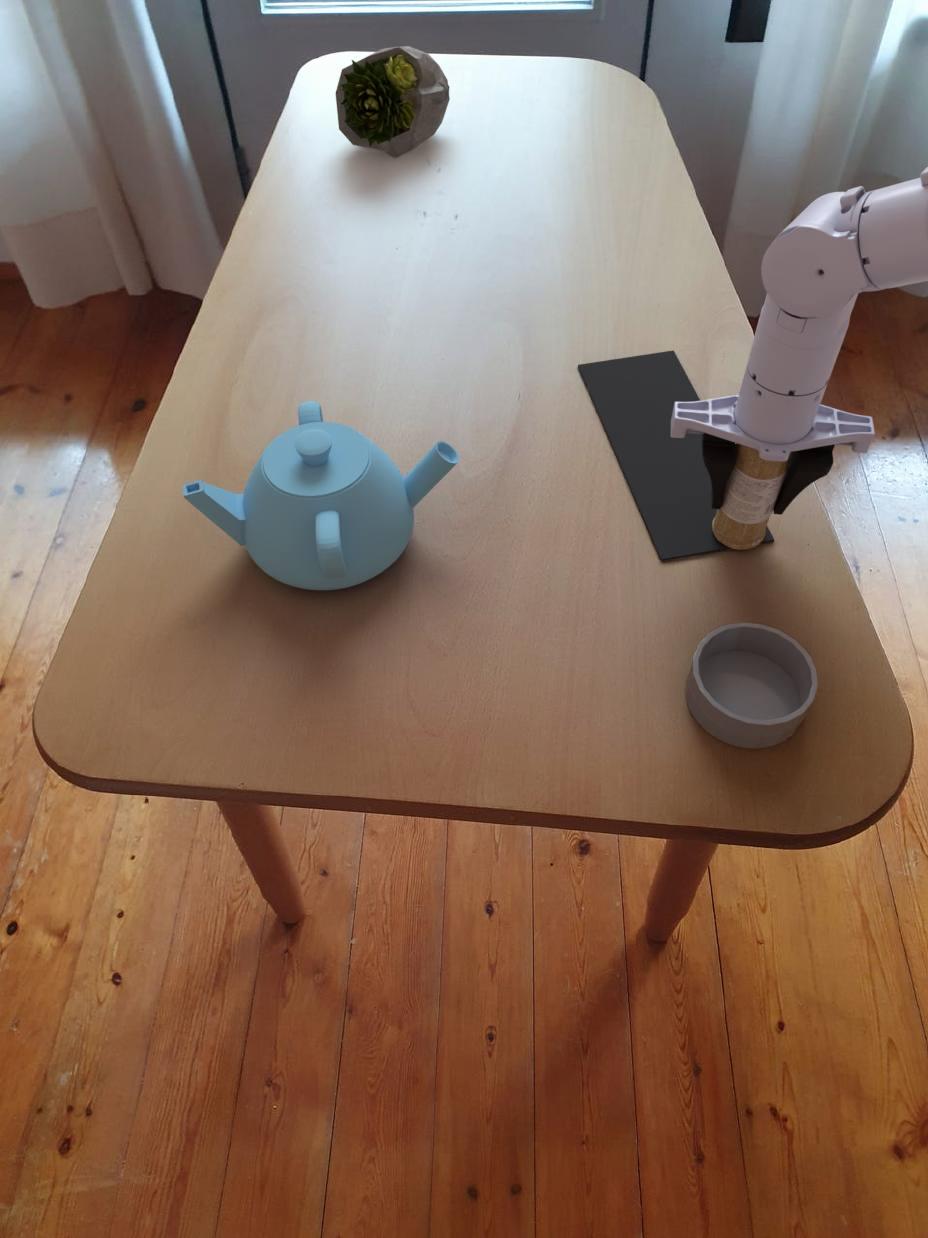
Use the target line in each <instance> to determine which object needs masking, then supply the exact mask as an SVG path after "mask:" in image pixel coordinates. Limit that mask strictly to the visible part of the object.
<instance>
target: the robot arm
mask: <svg viewBox="0 0 928 1238" xmlns="http://www.w3.org/2000/svg"><path fill="white" fill-rule="evenodd" d="M760 275H761V281H762V285H763V287H764V290H765V292H766V296H765V298H764V299H765V300H764V303H763V305H762V307H761V310H760V313H759V318H758V320H757V321H758V322H757V326H756V328H755V333H754V336H753V340H752V344H751V347H750V351H749V354H748V359H747V363H746V367H745V371H744V374H743V377H742V380H741V385H740V389H739V392H738V394H733V395H727V396H721V397H716V398H715V397H714V398H710V399H703V400H700V401H695V402H675V403H674V408H673V413H672V418H671V437H672V438H684V437H685V435H686V433H694V434H702V455H703V460H704V464H705V466H706V468H707V470H708V473H709V476H710V479H711V483H712V490H711V508H712V509H721V506H722V504H723V499H724V494H725V488H726V485H727V482H728V479H729V477H730V475H731V472H732V470H733V469H734V467H735V447H736V443H738V444H741V445H744V446H747V447H751V448H754V449H757V450H758V451H759V456H760V458H762V459H763V460H769V461H781V462H782V461H786V460H788V457H789V454H790V452H792V451H793V452H792V455H791V458H790V461H789V465H788V469H787V472H786V475H785V478H784V481H783V484H782V487H781V490H780V492H779V495H778V498H777V501H776V504H775V506H774V509H773V515H781V516H782V515H784V512H786V510H787V509H788V507H789V506H790V505H791V504H792V503H793V501H794V500H795V499H796V498H797V497H798V496H799V495H800V494H801V493H802V492H803V491H804V490H805V489H806V488H808V487H809V486H810V485H811V484H813V483H814V482H816V481H818V480H819V479H822V478H823V477H826V476H828V474H829V473H830V471H831V470H832V467H833V465H834V456H833V455H834V454H833V452H834V449H835V446H845V447H850V448H851V451H852V452H854V453H858V454H859V453H860V454H861V453H862V454H867V453H868V451H869V449H870V446H871V444H872V443H873V440H874V438H875V435H876V433H875V426H874V420H873V416H870V415H861V414H857V413H852V412H849V411H848V412H847V411H844V410H841V409H838V408H834V407H831V406H827V405H824V404H821V403H822V400H823V398H824V395H825V392H826V389H827V387H828V384H829V381H830V378H831V376H832V373H833V370H834V367H835V364H836V362H837V358H838V356H839V353H840V351H841V348H842V345H843V343H844V339H845V337H846V335H847V331H848V329H849V325H850V320H851V315H852V312H853V309H854V307H855V304H856V301H857V298H858V295H859V294H861V293H863V292H879V291H883V290H888V289H894V288H899V287H904V286H909V285H914V284H920V283H924V282H928V166H927V167H925V168H924V170H923V171H921V173H920V174H919V177H917V178H914V179H910V180H906V181H903V182H899V183H896V184H892V185H888V186H885V187H881V188H878V189H877V188H876V189H873V190H870V191H867V192H866V190H865V187H864V186H863V185H860V186H856V187H853V188H849V189H847V190H846V191H834V192H829V193H826V194H823V195H821V196H819V197H817V198H815V199H814V201H812V202H811V203H810V204H809V205H808V206H806V207H805V209H804V210H802V211H801V213H799V214H798V215H797V216H796V217H795V218H794V219H793V220H792V221H791V222H790V223H789V224H788V225H787V226H786V227H785V228H784V229H782V231H781V232H780V233H779V234H778V235H777V236H776V237H775V238H774V239H773V241H772V242H771V244H770V245H769V246H768V248H767V249H766V251H765V253H764V255H763V257H762V261H761V267H760Z"/></svg>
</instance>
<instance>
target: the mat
mask: <svg viewBox="0 0 928 1238" xmlns="http://www.w3.org/2000/svg"><path fill="white" fill-rule="evenodd" d="M577 368H578V371H579V373H580V376H581V378H582V380H583V383H584V385H585V387H586V390H587V392H588V395H589V397H590V399H591V401H592V403H593V406H594V408H595V411H596V413H597V415H598V417H599V420H600V422H601V424H602V426H603V427H602V428H603V429H604V431H605V434H606V436H607V439H608V441H609V444H610V445H611V448H612V450H613V452H614V455H615V458H616V459H617V461H618V463H619V466H620V469H621V471H622V473H623V476H624V478H625V481H626V482H627V485H628V488H629V490H630V493H631V495H632V497H633V499H634V501H635V505H636V507H637V508H638V511H639V513H640V516H641V518H642V521H643V522H644V525H645V527H646V529H647V531H648V534H649V537H650V540H651V542H652V543H653V546H654V548H655V550H656V552H657V554H658V557H659V560H660V562H667V561H672V560H679V559H683V558H690V557H695V556H696V557H697V556H702V555H706V554H707V555H708V554H712V553H719V552H723V551H724V552H725V551H730V550H734V549H733V548H730V547H728V546H726V545H724V544H723V543H721V542H719V541H718V540H717V538H716V537H715V535H714V533H713V530H712V522H713V519H714V518H715V516H716V513H717V509H712V508H711V490H712V483H711V479H710V476H709V473H708V470H707V468H706V466H705V464H704V460H703V455H702V434H694V433H686V435H685V437H684V438H672V437H671V418H672V413H673V408H674V403H675V402H695V401H701V399H700V397H699V395H698V393H697V391H696V389H695V387H694V386H693V384H692V382H691V380H690V378H689V376H688V375H687V372H686V371H685V369H684V367H683V365H682V363H681V360H680V359H679V358H678V356H677V353H676V352H675V350H667V351H666V350H665V351H660V352H659V351H658V352H653V353H646V354H639V355H634V356H626V357H620V358H614V359H607V360H601V361H594V362H587V363H580V364H577ZM774 542H775V538H774V536H773V534H772V532H771V530H770V529H769V527H768V526H767V527H766V533H765V536H764V539H763V540H762V541H761V543H760V544H759V545H765V544H770V543H774Z"/></svg>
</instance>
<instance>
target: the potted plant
mask: <svg viewBox="0 0 928 1238" xmlns="http://www.w3.org/2000/svg"><path fill="white" fill-rule="evenodd" d="M448 81H449V80H448V78H447V76H446V75H445V73H444V71H443V69H442V67H441V66H440V64H439V63H438V62H436V60H435V59H434V58H433V57H432V56H431V55H430V53H427V52H426V51H422V50H420V49H417V48H415V47H412V46H409V45H405V46H393V47H384V48H381V49H379V50H377V51H375V52H373V53H371V54H369V55H367V56H365V57H363V58H361V59H360V60H357V61H356V60H354V59H351V64H350V65H348V66H346V67H343V68H342V69H341V72H340V75H339V78H338V82H337V86H336V90H335V94H334V95H335V102H336V104H335V105H336V113H337V124H338V130H339V131H340V132H341V133H342V134H343V136H344V137H345V138H346V139H347V140H348V142H350V144H351V145H353V146H356V147H361V148H365V149H370V150H376V151H381V152H383V153H385V154H387V155H388V156H390V157H392V158H394V159H398V158H399V157H401V156H403V155H405V154H407V153H408V152H411V151H413V150H415V149H416V148H417V147H419V146H420V145H422V144H423V143H424V142H426V141H427V140H429V139H431V138H432V137H433V136H434V135H435V134H436V133H437V130H439V128H440V127H441V125H442V123H443V121H444V118H445V115H446V112H447V109H448V106H449V103H450V99H451V98H450V85H449V82H448Z"/></svg>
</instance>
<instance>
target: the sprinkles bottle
mask: <svg viewBox="0 0 928 1238" xmlns="http://www.w3.org/2000/svg"><path fill="white" fill-rule="evenodd" d="M792 452H793V451H792ZM792 452H790V454H789V457H788V460H786V461H782V462H781V461H769V460H763V459H762V458H760V456H759V451H758V450H757V449H754V448H751V447H747V446H744V445H741V444H738V443H736V447H735V467H734V469H733V470H732V472H731V475H730V477H729V479H728V482H727V485H726V488H725V494H724V499H723V504H722V506H721V509H717V513H716V516H715V518H714V519H713V522H712V530H713V533H714V535H715V537H716V538H717V540H718V541H719V542H721V543H723V544H724V545H726V546H728V547H730V548H733V549H732V550H739V551H741V550H749V549H753V548H756V547H758V545H761V544H760V543H761V541H762V540H763V539H764V536H765V533H766V527H768V523H769V522H770V517H771V516H772V514H773V513H774V511H773V509H774V506H775V504H776V501H777V498H778V495H779V492H780V490H781V487H782V484H783V481H784V478H785V475H786V472H787V469H788V465H789V461H790V458H791V455H792Z"/></svg>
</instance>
